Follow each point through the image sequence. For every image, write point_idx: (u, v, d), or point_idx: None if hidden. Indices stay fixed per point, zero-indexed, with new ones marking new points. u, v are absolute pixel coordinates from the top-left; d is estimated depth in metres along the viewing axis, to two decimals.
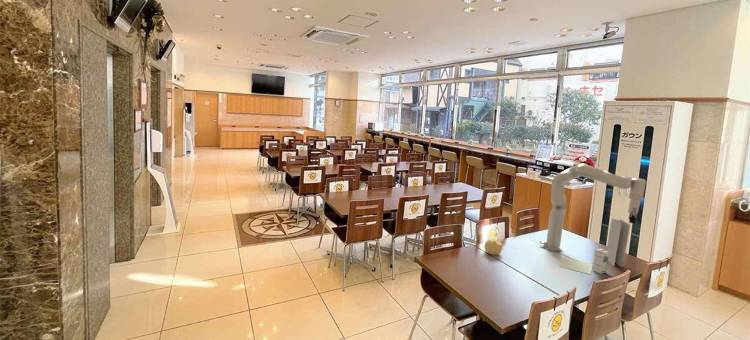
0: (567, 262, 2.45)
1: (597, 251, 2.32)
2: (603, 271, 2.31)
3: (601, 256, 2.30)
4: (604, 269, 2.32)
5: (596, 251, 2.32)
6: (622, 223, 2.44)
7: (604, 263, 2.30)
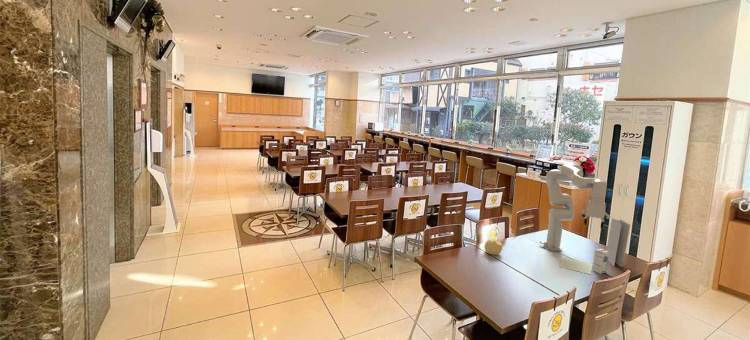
0: (567, 262, 2.45)
1: (597, 251, 2.32)
2: (603, 271, 2.31)
3: (601, 256, 2.30)
4: (604, 269, 2.32)
5: (596, 251, 2.32)
6: (622, 223, 2.44)
7: (604, 263, 2.30)
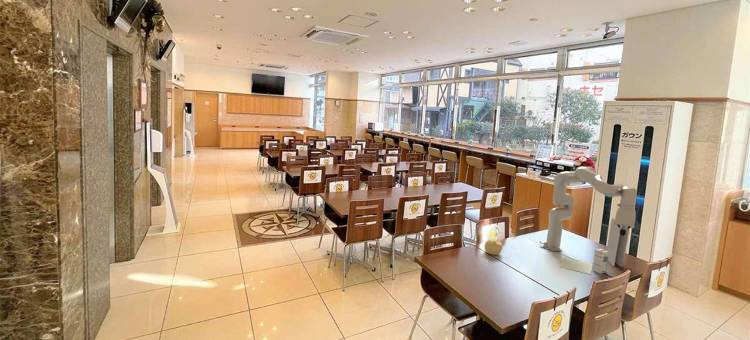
0: (567, 262, 2.45)
1: (597, 251, 2.32)
2: (603, 271, 2.31)
3: (601, 256, 2.30)
4: (604, 269, 2.32)
5: (596, 251, 2.32)
6: None
7: (604, 263, 2.30)
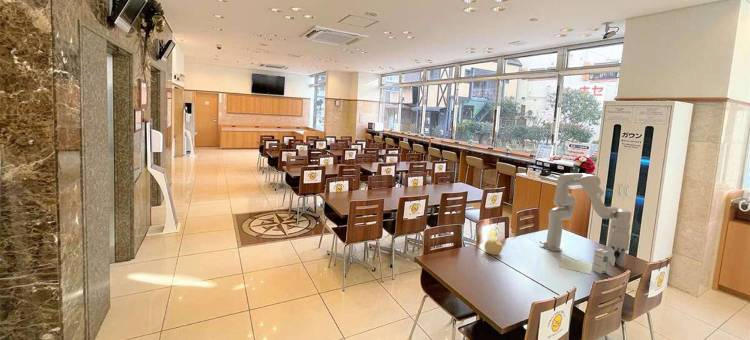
0: (567, 262, 2.45)
1: (597, 251, 2.32)
2: (603, 271, 2.31)
3: (601, 256, 2.30)
4: (604, 269, 2.32)
5: (596, 251, 2.32)
6: None
7: (604, 263, 2.30)
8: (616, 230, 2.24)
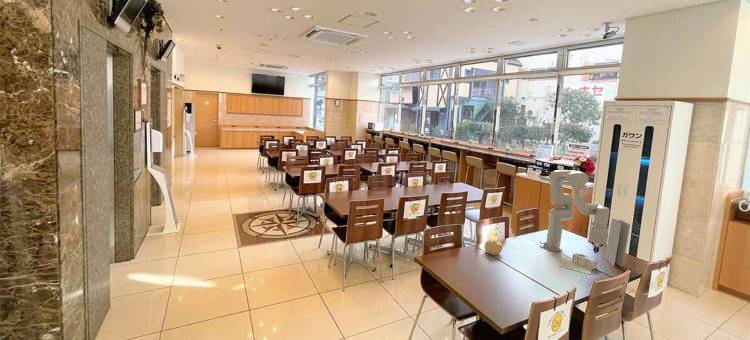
0: (567, 262, 2.45)
1: (573, 259, 2.47)
2: (594, 260, 2.37)
3: (577, 256, 2.44)
4: (593, 259, 2.38)
5: (573, 260, 2.47)
6: (622, 223, 2.44)
7: (585, 257, 2.41)
8: (595, 226, 2.30)
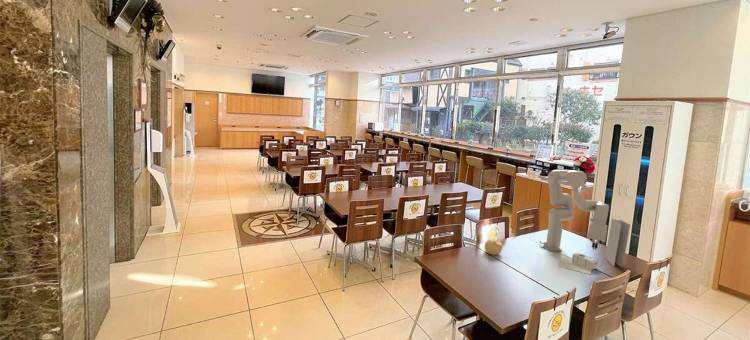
0: (567, 262, 2.45)
1: (573, 259, 2.47)
2: (594, 260, 2.36)
3: (576, 256, 2.44)
4: (593, 259, 2.38)
5: (573, 260, 2.47)
6: (622, 223, 2.44)
7: (585, 257, 2.41)
8: (594, 223, 2.30)
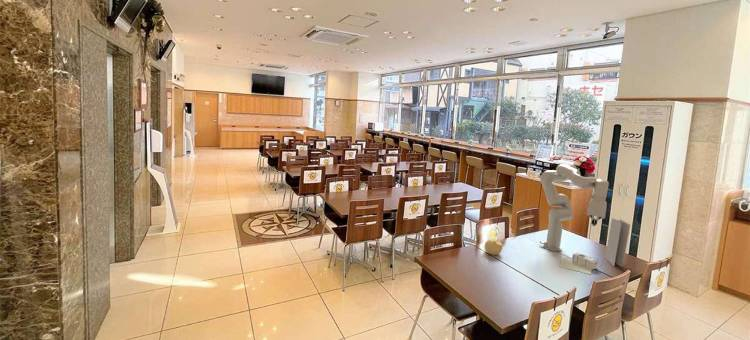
0: (567, 262, 2.45)
1: (573, 259, 2.47)
2: (594, 260, 2.36)
3: (576, 256, 2.44)
4: (593, 259, 2.38)
5: (573, 260, 2.47)
6: (622, 223, 2.44)
7: (585, 257, 2.41)
8: (594, 199, 2.33)
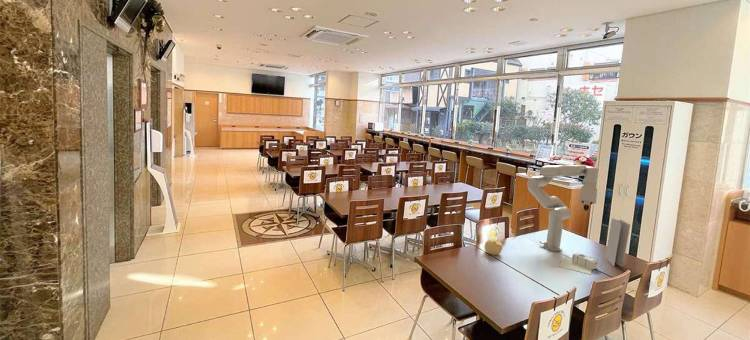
0: (567, 262, 2.45)
1: (573, 259, 2.47)
2: (594, 260, 2.36)
3: (576, 256, 2.44)
4: (593, 259, 2.38)
5: (573, 260, 2.47)
6: (622, 223, 2.44)
7: (585, 257, 2.41)
8: (585, 185, 2.46)
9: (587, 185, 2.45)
